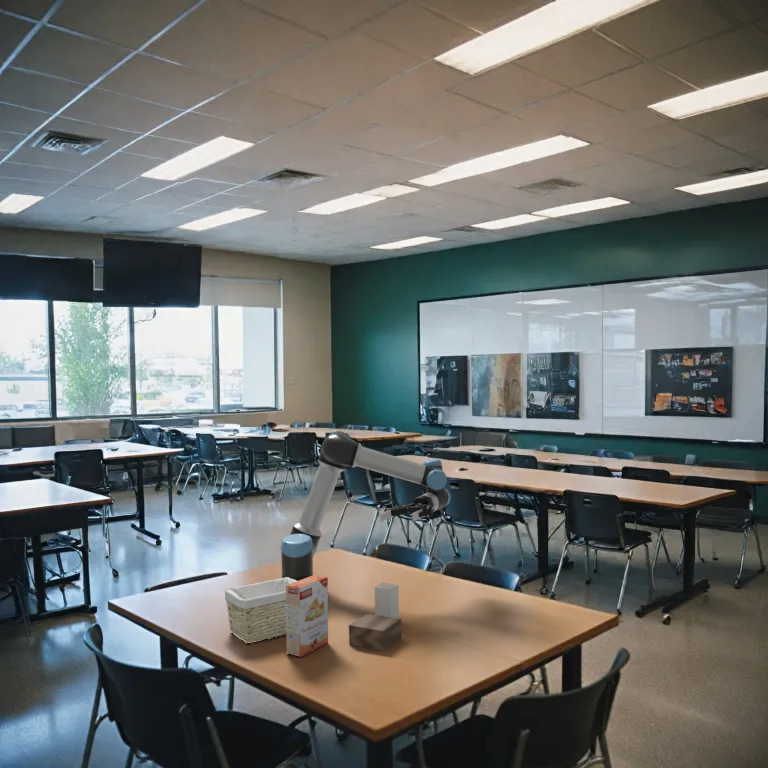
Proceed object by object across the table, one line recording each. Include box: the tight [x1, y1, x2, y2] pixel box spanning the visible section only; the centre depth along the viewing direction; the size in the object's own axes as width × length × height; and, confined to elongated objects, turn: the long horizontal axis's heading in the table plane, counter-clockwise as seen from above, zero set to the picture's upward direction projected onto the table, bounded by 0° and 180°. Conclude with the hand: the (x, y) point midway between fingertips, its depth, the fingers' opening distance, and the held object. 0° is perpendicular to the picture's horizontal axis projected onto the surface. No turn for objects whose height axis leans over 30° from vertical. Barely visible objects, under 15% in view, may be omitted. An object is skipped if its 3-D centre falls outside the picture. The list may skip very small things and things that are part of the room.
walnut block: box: [348, 613, 402, 652], centre depth 221 cm, size 12×12×6 cm
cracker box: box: [285, 574, 329, 658], centre depth 216 cm, size 14×6×21 cm, turn 148°
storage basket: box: [224, 577, 297, 642], centre depth 232 cm, size 24×16×15 cm
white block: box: [374, 582, 400, 619], centre depth 240 cm, size 6×6×12 cm
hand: (396, 517), depth 254 cm, fingers open, 13 cm apart
